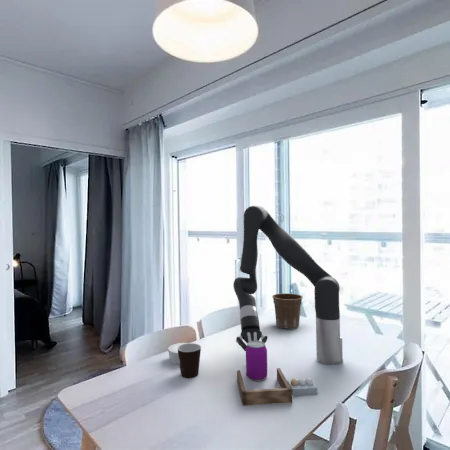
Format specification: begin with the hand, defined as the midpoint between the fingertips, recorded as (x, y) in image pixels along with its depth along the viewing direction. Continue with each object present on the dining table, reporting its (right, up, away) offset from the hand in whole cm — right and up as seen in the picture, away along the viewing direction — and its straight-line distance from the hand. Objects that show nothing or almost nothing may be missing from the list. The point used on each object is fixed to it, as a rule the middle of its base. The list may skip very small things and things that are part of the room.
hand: (254, 361), depth 121 cm
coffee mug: (-24, -4, 0) cm, 24 cm away
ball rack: (+14, -3, -14) cm, 20 cm away
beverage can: (0, -4, -4) cm, 6 cm away
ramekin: (-29, -5, +12) cm, 31 cm away
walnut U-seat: (+1, -4, -14) cm, 15 cm away
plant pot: (+23, -4, +55) cm, 59 cm away
